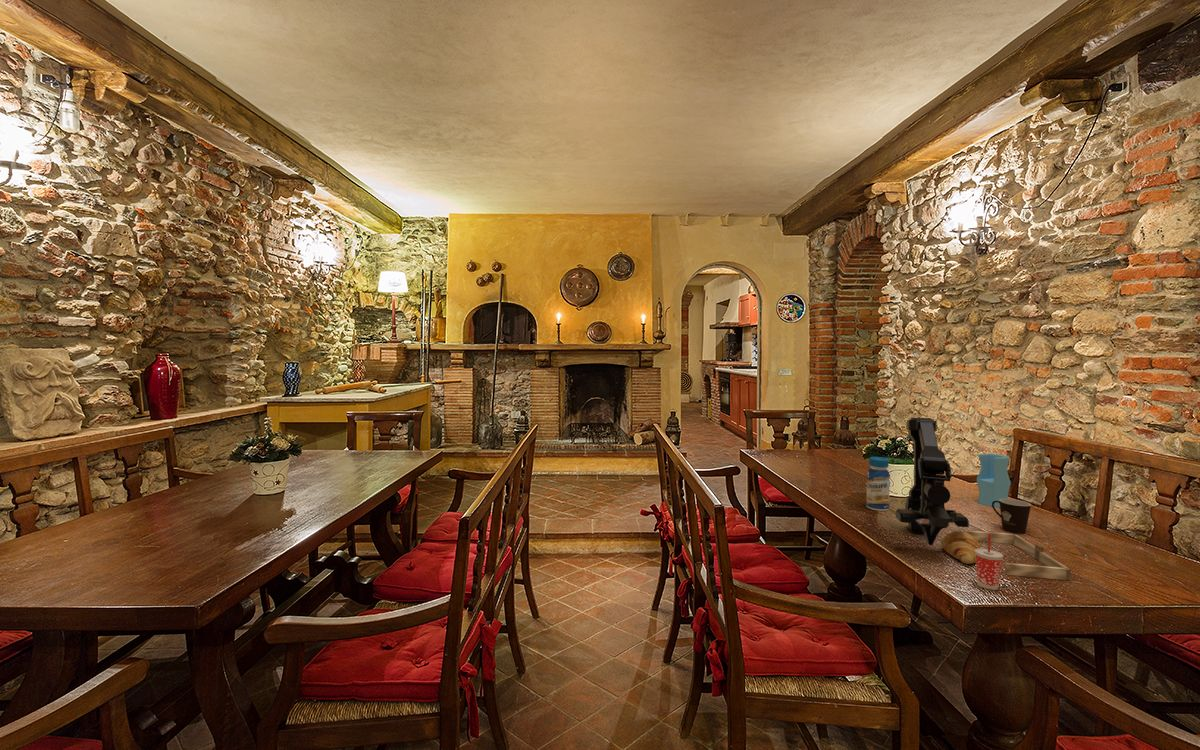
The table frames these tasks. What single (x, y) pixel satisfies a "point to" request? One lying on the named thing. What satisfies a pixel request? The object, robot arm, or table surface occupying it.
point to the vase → (993, 479)
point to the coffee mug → (1013, 515)
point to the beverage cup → (988, 567)
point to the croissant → (961, 546)
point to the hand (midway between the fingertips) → (930, 544)
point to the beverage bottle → (878, 484)
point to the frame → (1051, 567)
